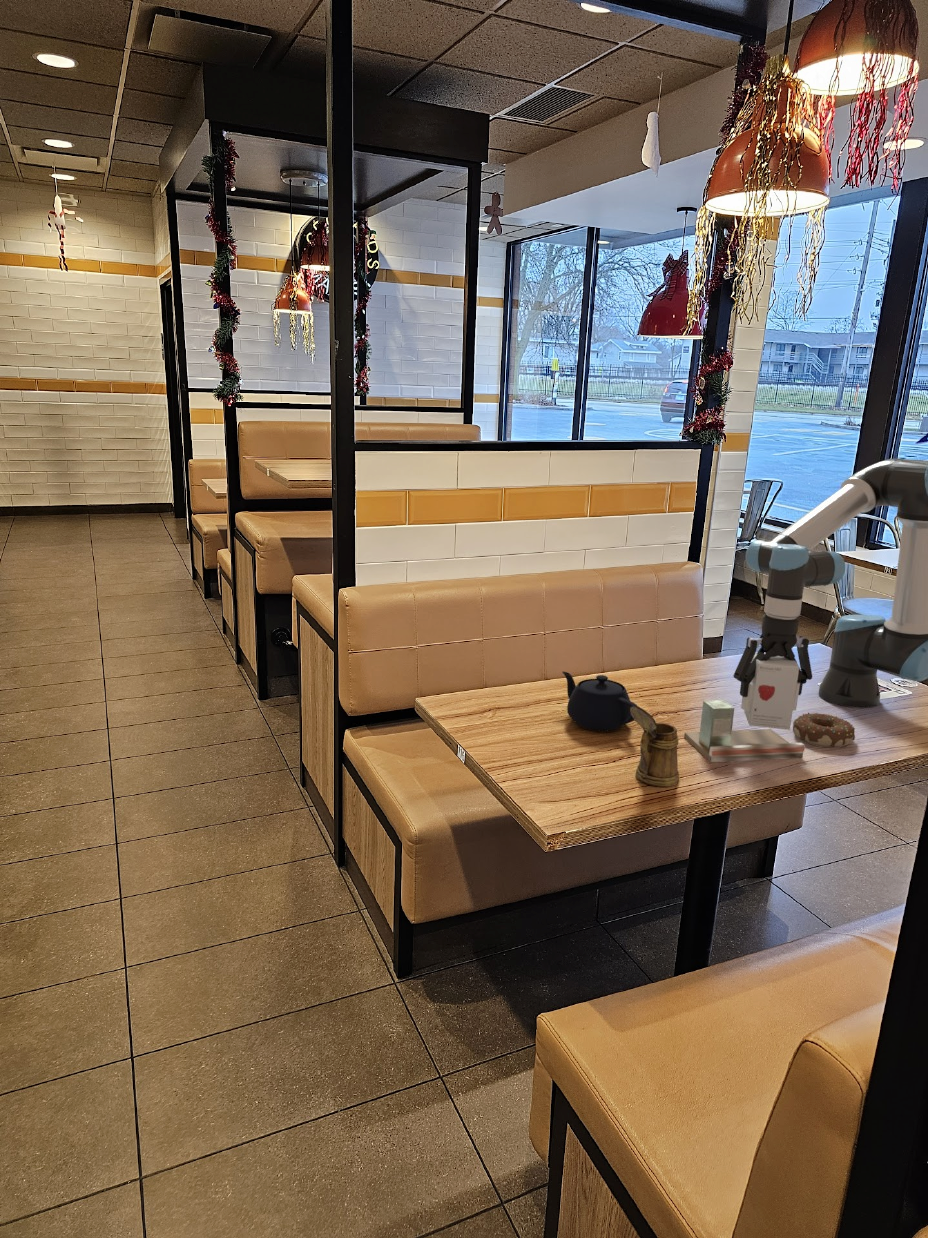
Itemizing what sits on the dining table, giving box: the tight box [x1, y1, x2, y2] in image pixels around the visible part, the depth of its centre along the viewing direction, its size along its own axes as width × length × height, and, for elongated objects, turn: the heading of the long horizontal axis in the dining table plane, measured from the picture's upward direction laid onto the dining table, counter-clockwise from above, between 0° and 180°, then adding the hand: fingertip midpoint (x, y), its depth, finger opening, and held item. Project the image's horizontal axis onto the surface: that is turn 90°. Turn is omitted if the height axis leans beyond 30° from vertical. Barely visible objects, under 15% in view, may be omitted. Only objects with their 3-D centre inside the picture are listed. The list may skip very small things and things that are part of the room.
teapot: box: [562, 671, 638, 733], centre depth 202 cm, size 25×16×12 cm, turn 37°
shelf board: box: [683, 728, 806, 763], centre depth 191 cm, size 22×14×3 cm, turn 100°
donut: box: [792, 712, 856, 749], centre depth 198 cm, size 14×14×5 cm
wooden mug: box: [630, 705, 680, 788], centre depth 171 cm, size 9×14×18 cm, turn 128°
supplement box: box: [743, 652, 800, 731], centre depth 188 cm, size 9×9×15 cm
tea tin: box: [699, 699, 735, 751], centre depth 188 cm, size 5×5×10 cm
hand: (768, 709), depth 189 cm, fingers closed on supplement box, 11 cm apart
